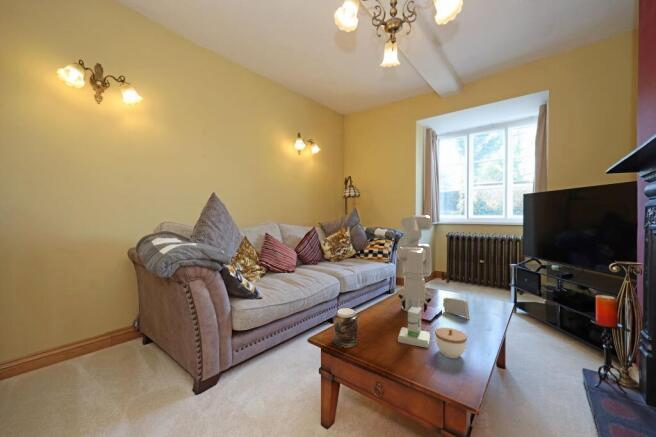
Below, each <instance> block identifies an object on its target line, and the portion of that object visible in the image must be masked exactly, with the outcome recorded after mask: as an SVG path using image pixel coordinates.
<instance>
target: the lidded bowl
mask: <svg viewBox="0 0 656 437" xmlns="http://www.w3.org/2000/svg"><path fill="white" fill-rule="evenodd" d="M434 332H435V334H434V335H435V344H436V347H437V349H438V350H439V351H440V353H441V354H442V355H443V356H444V357H445V358H446V357H447V358H449V359H458V358H460V356H462V355H463V354H464V352H465V351H466V348H467V339H468V338H467V335H466V333H464V332H462V330H458V329H456V328H452V327H440V328H439V327H438V328H436V330H435V331H434Z"/></svg>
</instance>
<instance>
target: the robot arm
mask: <svg viewBox="0 0 656 437" xmlns="http://www.w3.org/2000/svg"><path fill="white" fill-rule="evenodd" d="M400 224H401V229H402V232H403V234H404V235H402V236H401V237H400V239H399V240H398V242H397V246H396V257H397V259H398V260H399V261H400V262H403V263H402V271H403V287H402V288H400V289H396V294H397V296H398V298H399V299H400V300H401V309H402V310H403V311H405V312H406V313H408V311H409V309H410V308H411V307H416V308H421V310H422V309H423V310H422V311H423V313H426V311H428V304H429V303H430V302H431V301H432V300H433V298H434V294H432V293H431V292H429V291H428V290H426V281H425V278H424V277H430V276H431V275H432V271H433V270H432V267H433V265H432V262H433V261H432V248H431V246H430V244H427V243H419V242H420V240H421V238H422V236H423V235H422V231H423V232H424V231H430V230H431V229H432V226H433V221H432V218H431V216H430V215H415V214H413V215H409V216H405V217H402V218H401V220H400ZM402 292H403V295H402V294H401V293H402ZM426 295H427V296H429V297H428V298H427V297H426ZM420 301H423V308H422V307H421V306H420Z"/></svg>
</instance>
